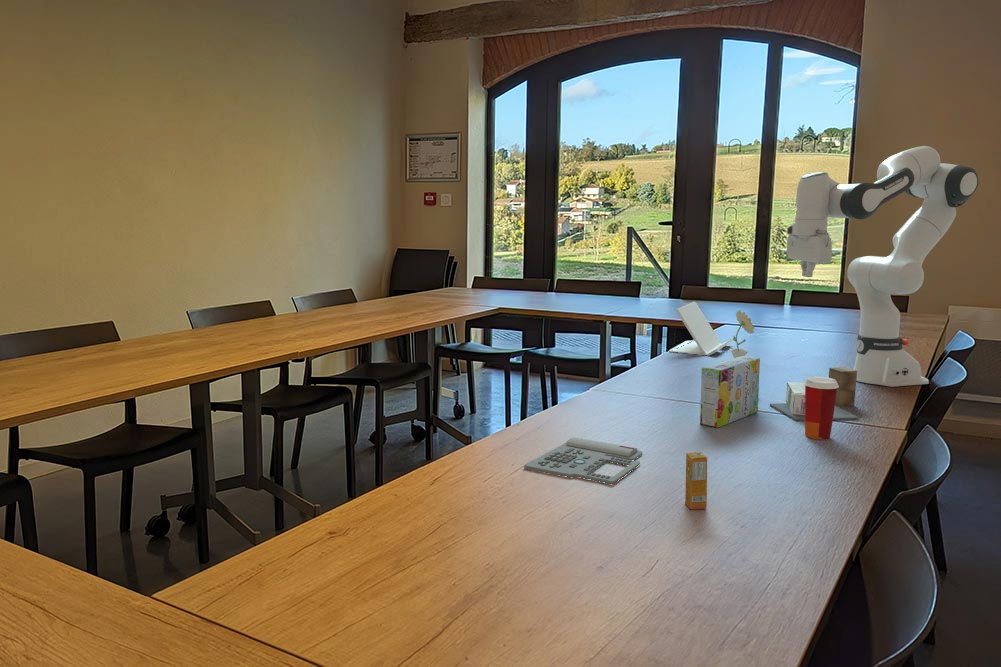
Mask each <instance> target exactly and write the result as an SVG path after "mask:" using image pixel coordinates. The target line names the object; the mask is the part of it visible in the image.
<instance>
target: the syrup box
mask: <svg viewBox="0 0 1001 667" xmlns="http://www.w3.org/2000/svg"><path fill="white" fill-rule="evenodd" d="M803 383H804V382H797V381H796V382H794V381H786V392H785V394H786V395H785V403H787V405H788V407H789V409H790V411H791V413H792V414H793V415H805V385H804V384H803Z"/></svg>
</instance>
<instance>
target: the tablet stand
mask: <svg viewBox="0 0 1001 667" xmlns="http://www.w3.org/2000/svg"><path fill="white" fill-rule="evenodd" d="M675 312H676V313H677V315H678V316H679V318H680V319H681V321H682V323H683V324H684V326H685V327H686V329H687V331H688V332H689V334H690V335H691V337H692V339H693V340H685V341H683V342H682V343H679V344H677V345H676V346H674V347H672V348H670V349H669V350H668V353H672V352H678V353H677V354H682V353H688V354H687V355H692V354H698V355H697V356H702V355H707V356H706V357H709V356H711V355H713V354H715V353H717V352H718V351H720V350H721V349H723V348H724V347H726V346H727V345H728V344H730V343H731V342H732V339H731V338H730V339H728V340H727V341H724V342H723V343H722V342H721V340H720V339H719V337H718V336H717V334H716V333H715V330H714V328H712V326H711V324H710V322H709V321H708V319H707V318H706V316H705V315H704V313H703V311H702V310H701V308H700V307H699V305H698V303H697V302H696V301H692V302H690V303H688V304H685V305H682V306H681V307H677V308H676V309H675ZM691 341H692V342H691ZM689 342H691V343H689ZM687 343H689V344H687ZM683 345H684V346H683ZM681 346H682V347H681ZM678 347H679V348H678ZM676 348H678V349H676ZM672 350H673V351H672Z"/></svg>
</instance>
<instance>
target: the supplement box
mask: <svg viewBox="0 0 1001 667" xmlns="http://www.w3.org/2000/svg"><path fill="white" fill-rule="evenodd" d="M685 455H686V456H685V457H686V458H685V495H684V498H685V502H684V504H685V505H686V506H687V507H688V509H689V508H690V509H698V510H707V506H708V505H707V501H708V500H707V499H708V498H707V497H708V457H707V456H706V455H704V453H703V452H702V451H697V452H686V453H685ZM690 509H689V510H690Z"/></svg>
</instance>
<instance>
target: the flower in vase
mask: <svg viewBox="0 0 1001 667" xmlns="http://www.w3.org/2000/svg"><path fill="white" fill-rule="evenodd" d="M735 317H736V320H737V322H738V324H739V327H738V330H737V331H736V334H735V335H733V337H732V338H733V339H732V341H734V342H735V343H736V348H730V350H729V351H730V352H731V354H732V356H733V358H737V357H740V356H747V354H748V352H749V349H746V348H739V345H741V344H743V343H745V342H746V341H747V340H746V339H745V338H744V339H743V340H742V341H740V342H738V334H739V332H740V329H741V328H742V329H743V330H744V331H745V332H747V333H748V334H750V335H752V334H754V333H755V331H754V330H755V326H754V325H753V322H752V319H751V318H750V317H748V314H746V313H745V311H741V310H740V309H739V310H738V311H736V312H735Z"/></svg>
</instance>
